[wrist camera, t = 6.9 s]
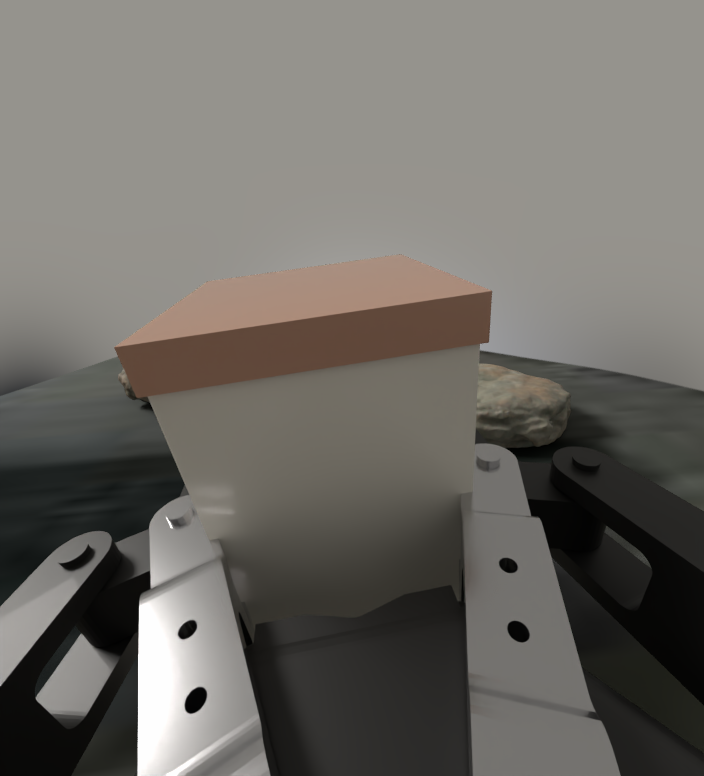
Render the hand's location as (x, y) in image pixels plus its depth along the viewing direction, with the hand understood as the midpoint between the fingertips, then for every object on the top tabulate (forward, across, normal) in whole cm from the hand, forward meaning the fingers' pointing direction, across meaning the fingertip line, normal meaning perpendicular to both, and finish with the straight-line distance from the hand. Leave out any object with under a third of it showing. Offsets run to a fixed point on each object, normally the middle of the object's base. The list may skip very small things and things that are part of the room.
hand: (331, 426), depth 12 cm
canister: (-3, 0, +6) cm, 7 cm away
